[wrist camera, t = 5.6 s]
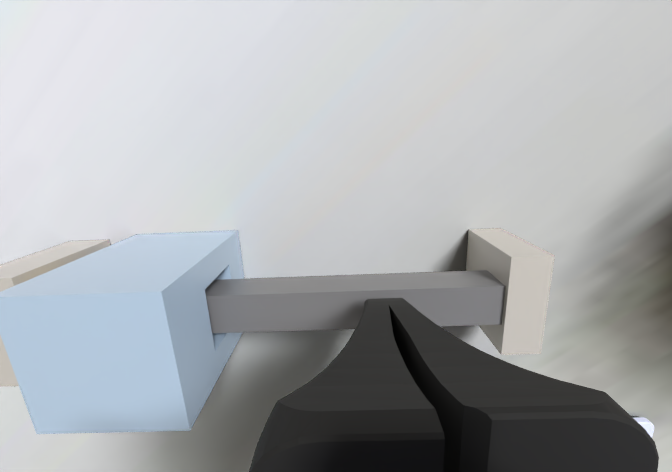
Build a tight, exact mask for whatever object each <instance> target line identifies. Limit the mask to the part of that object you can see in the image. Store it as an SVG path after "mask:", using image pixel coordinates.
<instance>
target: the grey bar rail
mask: <svg viewBox="0 0 672 472" xmlns="http://www.w3.org/2000/svg"><path fill="white" fill-rule="evenodd" d="M108 246H110V241H109V240H84V241H68V242H65V243H62V244H59V245H56V246H53V247H50V248H48V249H45V250H42V251H39V252H36V253H33V254H30V255H27V256H24V257H21V258H18V259H15V260H13V261H10V262H7V263H4V264H1V265H0V292H1V291H4V290H6V289H8V288H11V287H13V286H15V285H18V284H20V283H22V282H25V281H27V280H30V279H32V278H34V277H37V276H39V275H41V274H44V273H46V272H49V271H51V270H53V269H56V268H58V267H60V266H63V265H65V264H67V263H70V262H72V261H75V260H77V259H79V258H82V257H84V256H86V255H89V254H91V253H94V252H96V251H98V250H101V249H103V248H105V247H108ZM554 257H555V255H553V254H551V253H549V252H547V251H545V250H543V249H541V248H539V247H537V246H535V245H533V244H531V243H529V242H527V241H525V240H523V239H521V238H519V237H517V236H515V235H513V234H511V233H509V232H507V231H505V230H503V229H501V228H492V229H469V231H468V246H467V261H466V271H448V272H420V273H391V274H363V275H335V276H306V277H278V278H250V279H222V280H214V281H213V282H212V283H211V284H210V285H209V286H208V287H207V288H206V289H205V294H206V300H207V306H208V312H209V318H210V324H211V330H212V333H239V332H272V331H305V330H338V329H356V327H357V325H358V323H359V321H360V319H361V316H362V313H363V310H364V302H365V301H366V300H367V299H379V298H403V299H405V300H406V301H407V302H408V303H410V304H411V305H412V306H413V307H414V308H416V309H417V310H418V311H419V312H421V313H422V314H423V315H424V316H426V317H427V318H428V319H430V320H431V321H432V322H434V323H435V324H437V325H438V326H469V325H479V326H480V328H481V329H482V330H483V332H484V333H485V334H486V336H487V337H488V338H489V339H490V341H491V342H492V343H493V345H494V346H495V347H496V349H497V350H498V351H499V352H500V354H501V355H513V354H541V348H542V341H543V334H544V327H545V320H546V313H547V306H548V299H549V292H550V285H551V278H552V271H553V264H554ZM1 386H19V384H18V382H17V379H16V376H15V373H14V371H13V368H12V365H11V362H10V360H9V357H8V354H7V352H6V349H5V346H4V343H3V341H2V338H1V335H0V387H1Z"/></svg>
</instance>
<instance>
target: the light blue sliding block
mask: <svg viewBox="0 0 672 472" xmlns="http://www.w3.org/2000/svg"><path fill="white" fill-rule="evenodd" d="M222 279H244V271H243V264H242V256H241V248H240V241H239V233H238V230H235V231H210V232H185V233H160V234H136V235H134V236H131V237H129V238H127V239H124V240H122V241H120V242H117V243H115V244H112V245H110V246H108V247H105V248H103V249H101V250H98V251H96V252H94V253H91V254H89V255H86V256H84V257H82V258H79V259H77V260H75V261H72V262H70V263H67V264H65V265H63V266H60V267H58V268H56V269H53V270H51V271H49V272H46V273H44V274H41V275H39V276H37V277H34V278H32V279H30V280H27V281H25V282H22V283H20V284H18V285H15V286H13V287H11V288H8V289H6V290H4V291H1V292H0V335H1V338H2V341H3V343H4V346H5V349H6V352H7V354H8V357H9V360H10V362H11V365H12V368H13V371H14V373H15V376H16V379H17V382H18V384H19V387H20V390H21V392H22V395H23V398H24V401H25V403H26V406H27V409H28V412H29V414H30V417H31V420H32V422H33V425H34V428H35V431H36V433H37V434H58V433H105V432H152V431H190V430H191V428H192V426H193V424H194V423H195V421H196V419H197V417H198V415H199V413H200V411H201V410H202V408H203V406H204V404H205V402H206V400H207V398H208V396H209V395H210V393H211V391H212V389H213V387H214V385H215V383H216V382H217V380H218V378H219V376H220V374H221V372H222V370H223V369H224V367H225V365H226V363H227V361H228V359H229V357H230V355H231V354H232V352H233V350H234V348H235V346H236V344H237V342H238V341H239V339H240V337H241V335H242V333H243V332H239V333H212V330H211V324H210V318H209V312H208V306H207V300H206V294H205V289H206V288H207V287H208V286H209V285H210V284H211V283H212V282H213V281H214V280H222Z"/></svg>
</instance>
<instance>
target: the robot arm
mask: <svg viewBox="0 0 672 472" xmlns="http://www.w3.org/2000/svg"><path fill="white" fill-rule="evenodd" d="M653 432H654V425H653V424H652V423H651V422H650V421H649V420H648V419H646V418H642V417H636V418H632V417H631V416H630V415H629V414H628V413H627V412H626V411H625V410H624V409H623V408H622V407H621V406H620V405H618V404H617V403H616V402H615V401H614V400H613V399H612V398H611V397H610V396H609V395H608V394H606V393H605V392H602V391H599V390H595V389H591V388H587V387H583V386H579V385H576V384H572V383H568V382H564V381H560V380H556V379H553V378H550V377H547V376H544V375H541V374H538V373H535V372H532V371H529V370H526V369H523V368H520V367H518V366H515V365H512V364H510V363H507V362H505V361H503V360H500V359H498V358H496V357H493V356H491V355H489V354H487V353H485V352H482V351H480V350H478V349H477V348H475V347H473V346H471V345H469V344H467V343H465V342H463V341H462V340H460V339H458V338H456V337H455V336H453V335H452V334H450V333H449V332H447V331H446V330H444V329H442V328H441V327H439V326H438V325H437V324H435V323H434V322H432V321H431V320H430V319H428V318H427V317H426V316H424V315H423V314H422V313H421V312H419V311H418V310H417V309H416V308H414V307H413V306H412V305H411V304H410V303H408V302H407V301H406V300H405V299H403V298H379V299H367V300H366V301H365V302H364V310H363V313H362V316H361V319H360V321H359V323H358V325H357V327H356V329H355V331H354V333H353V334H352V336H351V338H350V340H349V341H348V343H347V344H346V346H345V347H344V348H343V350H342V351H341V352H340V353H339V355H338V356H337V357H336V358H335V359H334V360H333V361H332V362H331V363H330V365H329V366H328V367H327V368H326V369H325V370H324V371H322V372H321V373H320V374H319V375H318V376H316V377H315V378H314V379H313V380H311V381H310V382H309V383H307V384H306V385H304V386H303V387H301V388H299V389H298V390H296V391H294V392H293V393H291V394H289V395H288V396H286V397H284V398H283V399H281V400H279V401H278V402H277V403H276V405H275V407H274V408H273V410H272V412H271V415H270V417H269V419H268V421H267V423H266V425H265V427H264V430H263V432H262V434H261V437H260V439H259V442H258V444H257V447H256V450H255V453H254V457H253V460H252V464H251V467H250V471H249V472H657V469H658V459H659V456H658V453H657V449H656V445H655V442H654V441H653V439H652V435H653Z"/></svg>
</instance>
